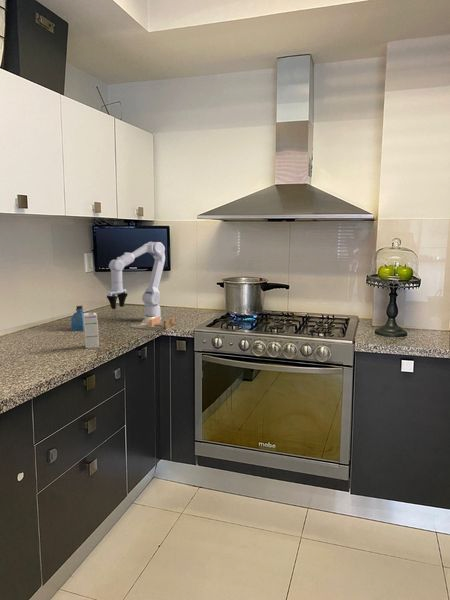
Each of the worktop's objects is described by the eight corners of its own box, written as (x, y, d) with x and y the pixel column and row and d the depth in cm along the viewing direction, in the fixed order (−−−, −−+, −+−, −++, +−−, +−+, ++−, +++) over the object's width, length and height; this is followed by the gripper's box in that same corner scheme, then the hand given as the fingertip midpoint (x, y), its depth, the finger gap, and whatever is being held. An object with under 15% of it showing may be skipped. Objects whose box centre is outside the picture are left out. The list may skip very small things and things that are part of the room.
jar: (148, 324, 243) (147, 313, 242) (157, 325, 241) (156, 314, 240) (143, 326, 238) (143, 315, 237) (152, 327, 236) (152, 316, 235)
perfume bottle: (82, 330, 229) (81, 307, 227) (71, 330, 230) (70, 306, 228) (89, 328, 235) (88, 305, 233) (78, 327, 236) (77, 305, 234)
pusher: (158, 324, 243) (158, 316, 242) (167, 324, 241) (167, 317, 240) (150, 327, 234) (150, 319, 234) (158, 328, 233) (158, 320, 232)
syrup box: (99, 347, 196) (98, 314, 194) (85, 348, 194) (83, 315, 192) (98, 344, 202) (96, 312, 199) (84, 345, 199) (82, 312, 197)
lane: (143, 323, 248) (143, 314, 247) (176, 326, 241) (176, 317, 240) (131, 327, 237) (131, 318, 236) (165, 330, 230) (165, 321, 229)
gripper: (118, 280, 248) (119, 305, 250) (102, 283, 234) (103, 309, 236) (129, 281, 245) (130, 306, 247) (113, 284, 232) (114, 310, 234)
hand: (117, 307), depth 241 cm, fingers open, 7 cm apart
